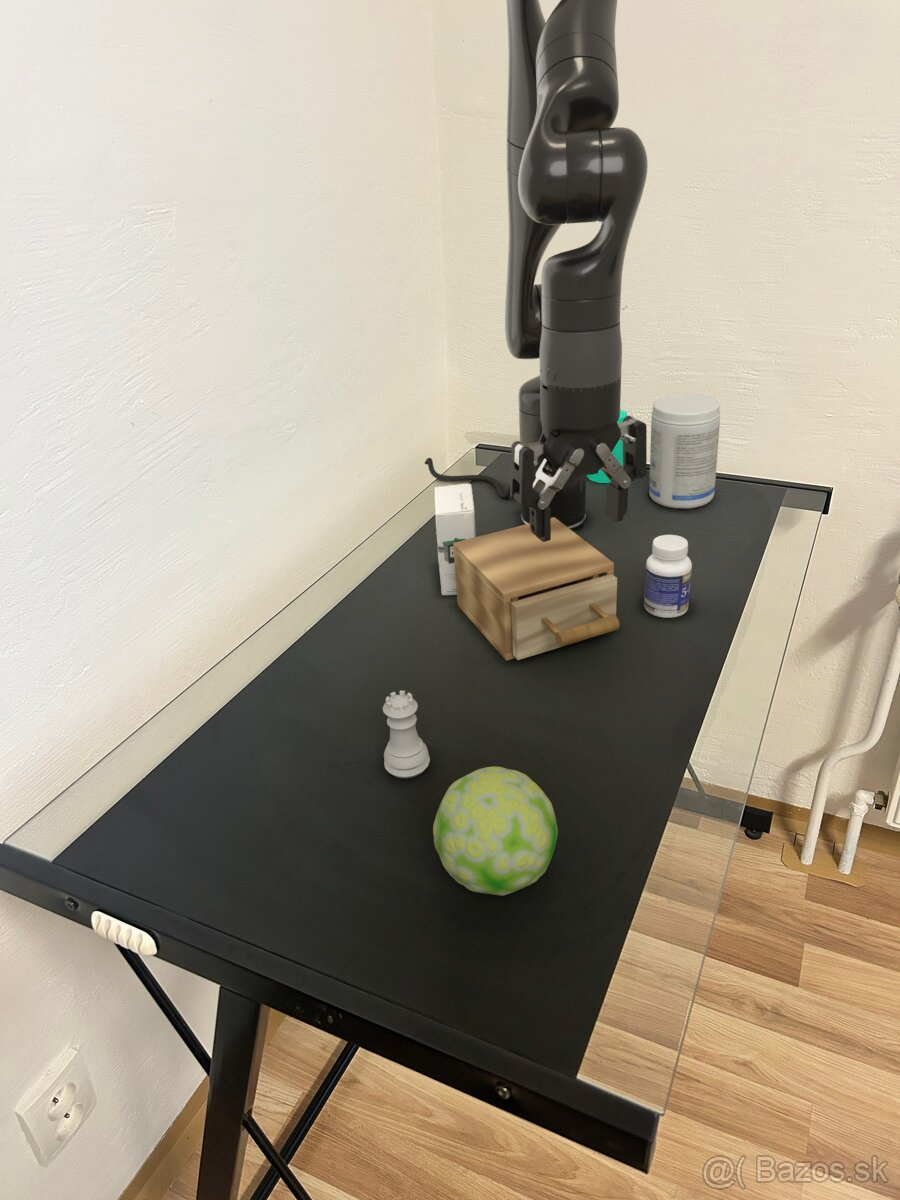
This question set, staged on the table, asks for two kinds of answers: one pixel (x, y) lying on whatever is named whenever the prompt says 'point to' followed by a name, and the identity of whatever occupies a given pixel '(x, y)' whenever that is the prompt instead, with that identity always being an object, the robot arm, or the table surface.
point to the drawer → (563, 615)
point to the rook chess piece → (404, 738)
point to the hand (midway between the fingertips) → (578, 528)
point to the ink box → (452, 528)
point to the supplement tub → (684, 450)
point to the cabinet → (517, 573)
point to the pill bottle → (668, 577)
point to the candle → (617, 452)
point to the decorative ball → (495, 831)
